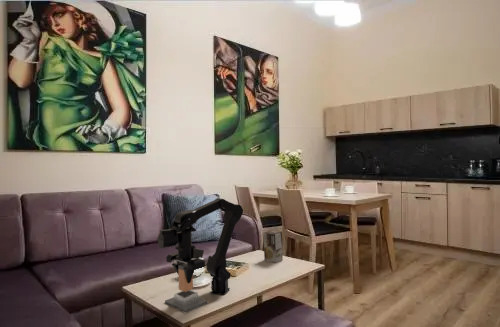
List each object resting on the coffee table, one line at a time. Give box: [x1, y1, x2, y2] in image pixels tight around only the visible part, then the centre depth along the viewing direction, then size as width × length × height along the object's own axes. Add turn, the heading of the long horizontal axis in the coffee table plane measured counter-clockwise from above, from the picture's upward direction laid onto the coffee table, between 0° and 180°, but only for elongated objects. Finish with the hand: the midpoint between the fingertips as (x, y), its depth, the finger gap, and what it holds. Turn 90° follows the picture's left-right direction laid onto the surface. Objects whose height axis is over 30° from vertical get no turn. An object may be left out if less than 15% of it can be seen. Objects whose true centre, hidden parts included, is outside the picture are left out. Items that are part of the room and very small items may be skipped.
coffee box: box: [262, 230, 284, 264], centre depth 183 cm, size 9×6×16 cm
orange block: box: [178, 263, 194, 292], centre depth 130 cm, size 4×4×10 cm
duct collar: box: [164, 289, 209, 314], centre depth 130 cm, size 14×11×4 cm
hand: (185, 281), depth 130 cm, fingers closed on orange block, 4 cm apart
